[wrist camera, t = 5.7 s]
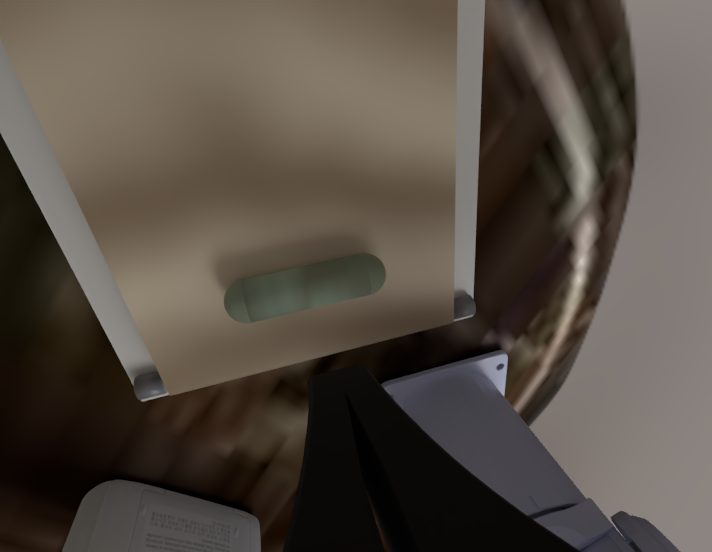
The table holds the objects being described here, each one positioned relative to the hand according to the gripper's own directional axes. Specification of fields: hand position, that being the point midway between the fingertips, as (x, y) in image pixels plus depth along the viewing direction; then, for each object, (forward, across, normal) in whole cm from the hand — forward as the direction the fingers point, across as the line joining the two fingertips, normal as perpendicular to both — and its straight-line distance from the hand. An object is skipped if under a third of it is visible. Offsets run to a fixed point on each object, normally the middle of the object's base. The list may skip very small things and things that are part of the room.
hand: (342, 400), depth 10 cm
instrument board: (+8, 0, -3) cm, 8 cm away
